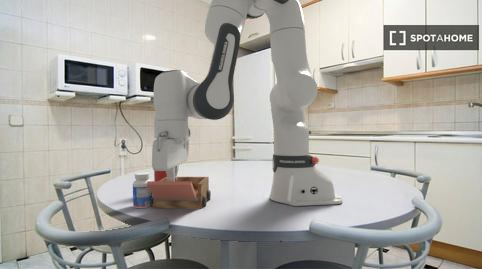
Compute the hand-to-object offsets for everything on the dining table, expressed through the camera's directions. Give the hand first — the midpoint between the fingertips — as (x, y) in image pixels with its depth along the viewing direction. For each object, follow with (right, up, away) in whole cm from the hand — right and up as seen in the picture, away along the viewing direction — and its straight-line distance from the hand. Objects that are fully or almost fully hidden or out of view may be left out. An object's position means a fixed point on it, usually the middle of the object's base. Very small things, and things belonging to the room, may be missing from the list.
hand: (172, 182), depth 74 cm
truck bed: (0, -8, +11) cm, 14 cm away
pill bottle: (-11, -9, +8) cm, 16 cm away
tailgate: (0, -5, +4) cm, 7 cm away
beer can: (-9, -8, +23) cm, 26 cm away
